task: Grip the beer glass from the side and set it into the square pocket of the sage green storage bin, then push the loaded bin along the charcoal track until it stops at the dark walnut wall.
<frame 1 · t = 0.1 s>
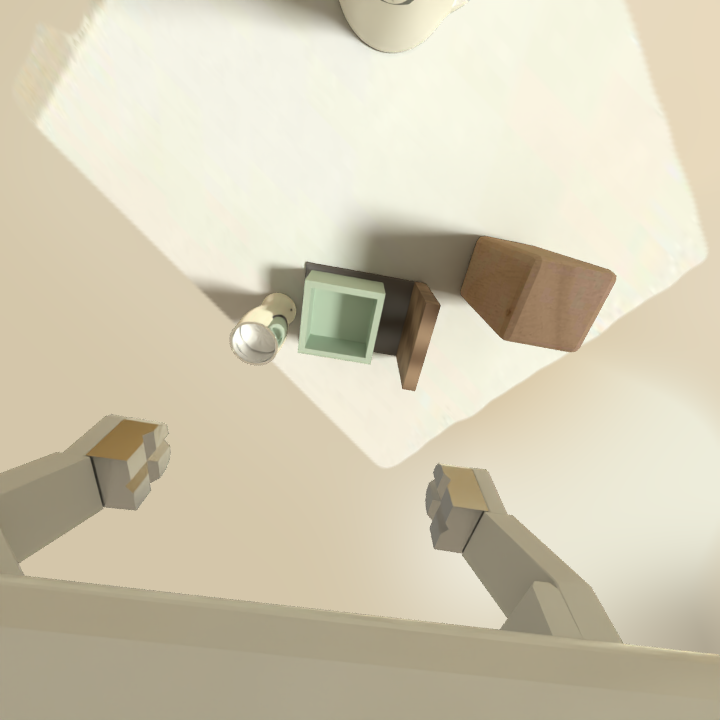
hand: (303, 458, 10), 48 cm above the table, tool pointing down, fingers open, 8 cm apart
sage green storage bin: (341, 317, 54), point 4 cm above the table, slide at 0.0 cm
wooden block: (495, 271, 55), on the table
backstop: (410, 321, 59), on the table
beer glass: (279, 309, 58), on the table
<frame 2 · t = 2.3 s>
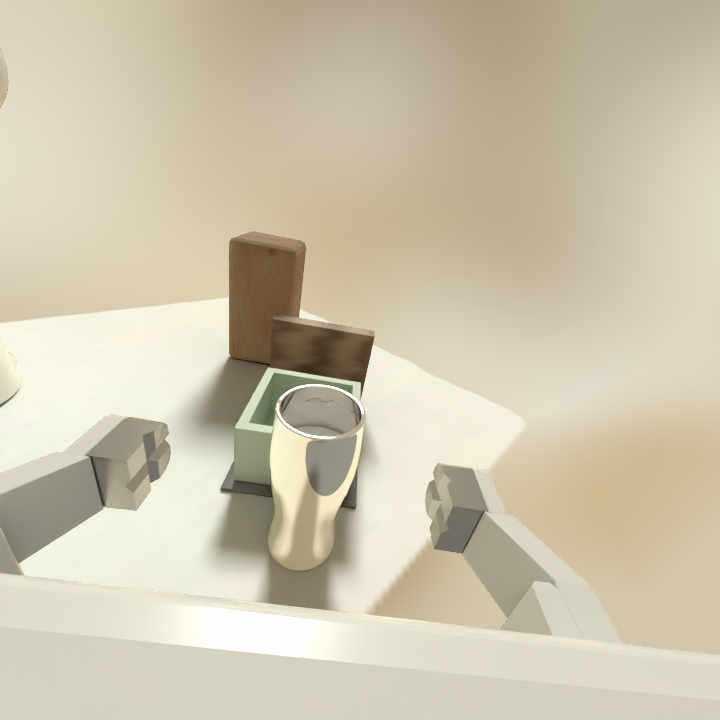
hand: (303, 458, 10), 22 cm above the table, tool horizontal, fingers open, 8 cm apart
sage green storage bin: (304, 426, 39), point 4 cm above the table, slide at 0.0 cm
wooden block: (264, 352, 61), on the table
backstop: (314, 396, 51), on the table
beer glass: (301, 539, 31), on the table
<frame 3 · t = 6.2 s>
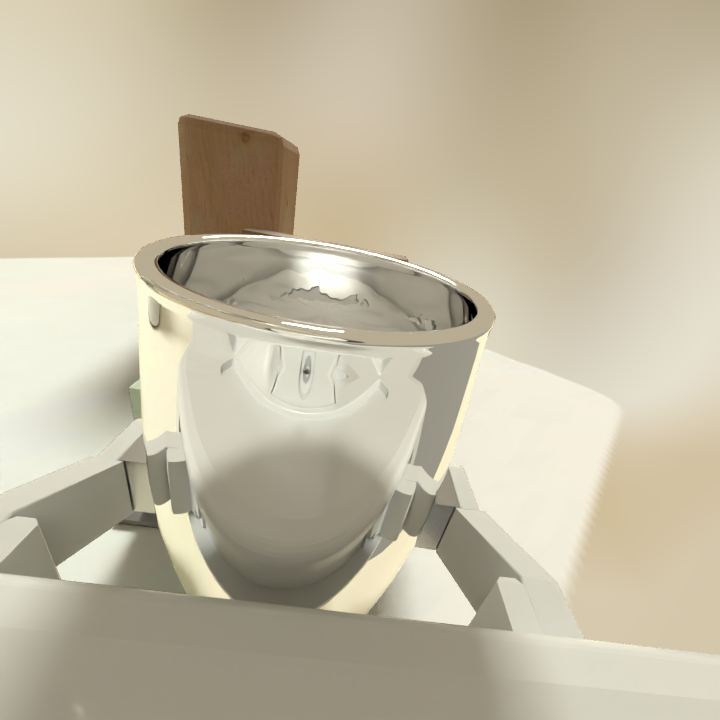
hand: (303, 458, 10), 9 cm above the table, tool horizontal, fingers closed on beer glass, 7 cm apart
sage green storage bin: (292, 398, 21), point 4 cm above the table, slide at 0.0 cm
wooden block: (242, 311, 44), on the table
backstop: (312, 364, 34), on the table
beer glass: (279, 642, 13), on the table, touching gripper
when the fingers open (12 cm above the table, at t = 11.9 s): beer glass moves 2 cm, resting on sage green storage bin.
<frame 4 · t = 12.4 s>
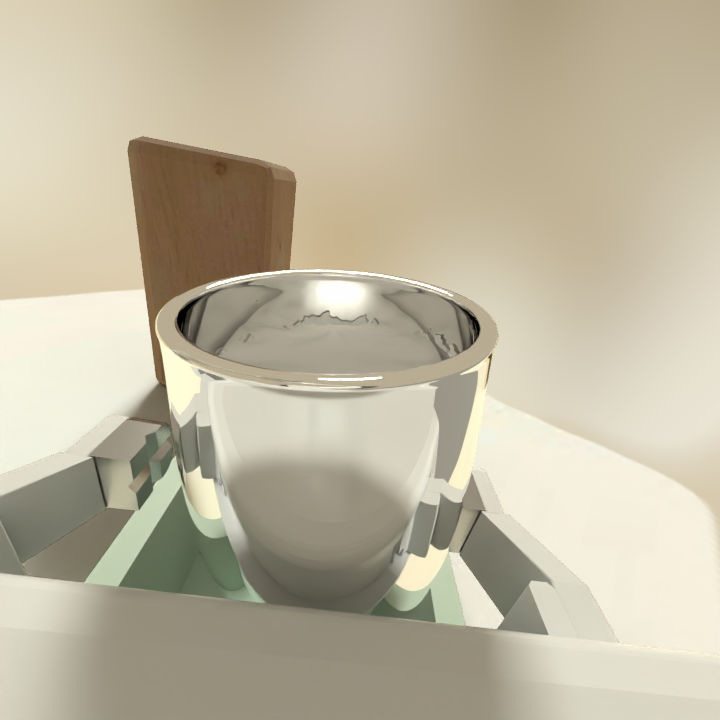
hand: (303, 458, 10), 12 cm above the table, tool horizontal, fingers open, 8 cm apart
sage green storage bin: (281, 624, 13), point 4 cm above the table, slide at 0.0 cm, touching beer glass
wooden block: (227, 371, 35), on the table
beer glass: (326, 653, 14), point 2 cm above the table, touching gripper, sage green storage bin
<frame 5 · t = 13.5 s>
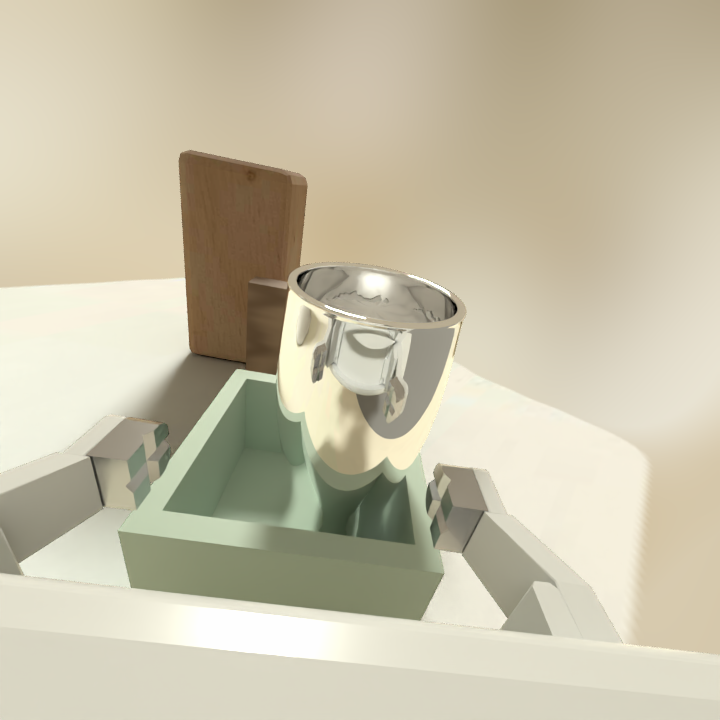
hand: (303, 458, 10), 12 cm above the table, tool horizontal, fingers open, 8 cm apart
sage green storage bin: (304, 488, 19), point 4 cm above the table, slide at 0.0 cm, touching beer glass
wooden block: (246, 346, 42), on the table
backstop: (321, 415, 32), on the table
beer glass: (329, 533, 20), point 1 cm above the table, touching sage green storage bin
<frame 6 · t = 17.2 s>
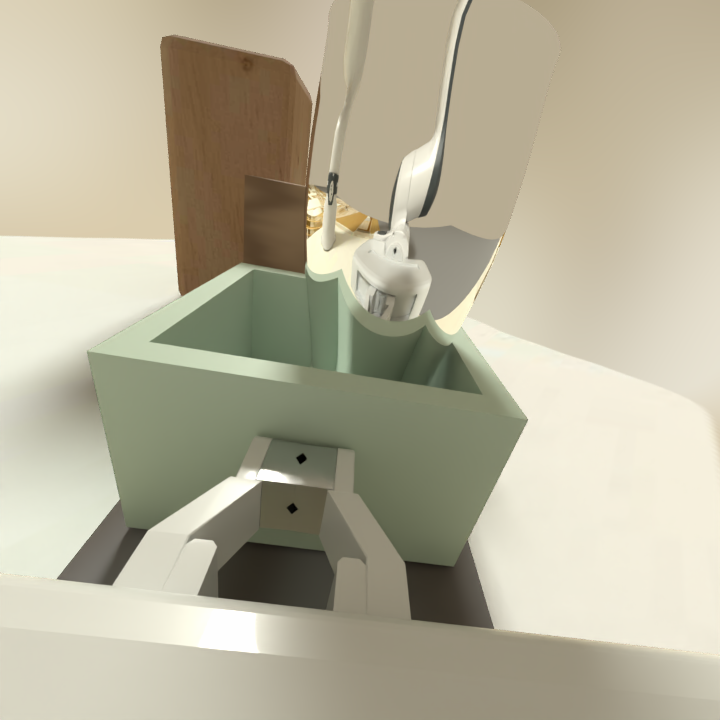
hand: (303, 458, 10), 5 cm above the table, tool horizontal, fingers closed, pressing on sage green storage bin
sage green storage bin: (325, 382, 16), point 4 cm above the table, slide at 1.7 cm, touching beer glass, gripper
wooden block: (243, 296, 37), on the table
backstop: (332, 357, 27), on the table
beer glass: (354, 442, 16), point 1 cm above the table, touching sage green storage bin
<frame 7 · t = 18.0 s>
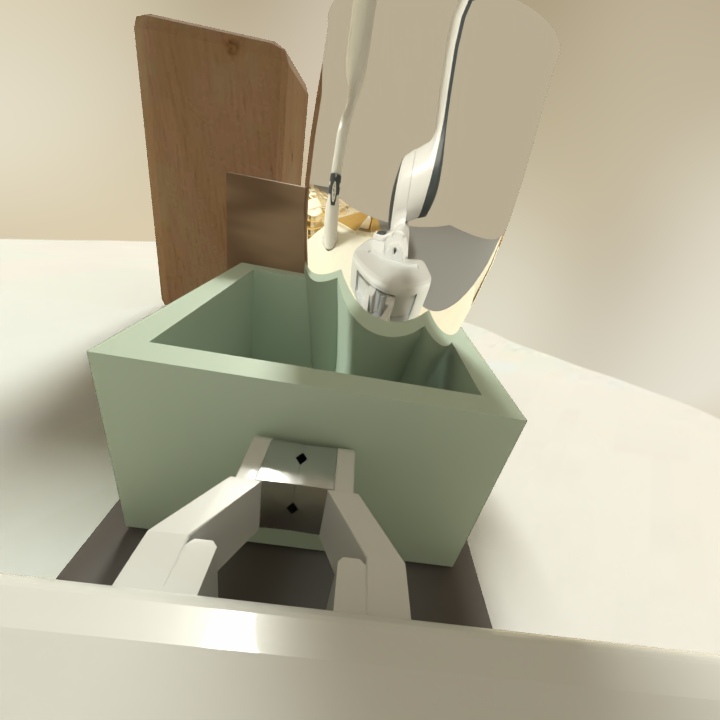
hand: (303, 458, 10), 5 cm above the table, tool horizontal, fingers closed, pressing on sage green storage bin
sage green storage bin: (324, 382, 16), point 4 cm above the table, slide at 4.8 cm, touching beer glass, gripper
wooden block: (234, 304, 34), on the table
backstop: (329, 376, 24), on the table
beer glass: (353, 442, 16), point 1 cm above the table, touching sage green storage bin
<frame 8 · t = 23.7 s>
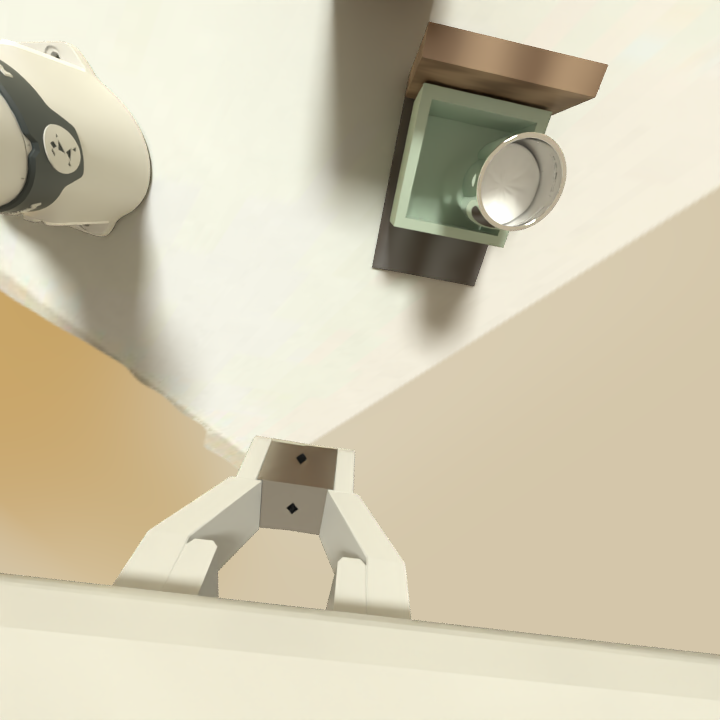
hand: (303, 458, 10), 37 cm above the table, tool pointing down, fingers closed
sage green storage bin: (458, 174, 35), point 4 cm above the table, slide at 4.9 cm, touching beer glass
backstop: (470, 100, 36), on the table
beer glass: (466, 187, 38), point 1 cm above the table, touching sage green storage bin
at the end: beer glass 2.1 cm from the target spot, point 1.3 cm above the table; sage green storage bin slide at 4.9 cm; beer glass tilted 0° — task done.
